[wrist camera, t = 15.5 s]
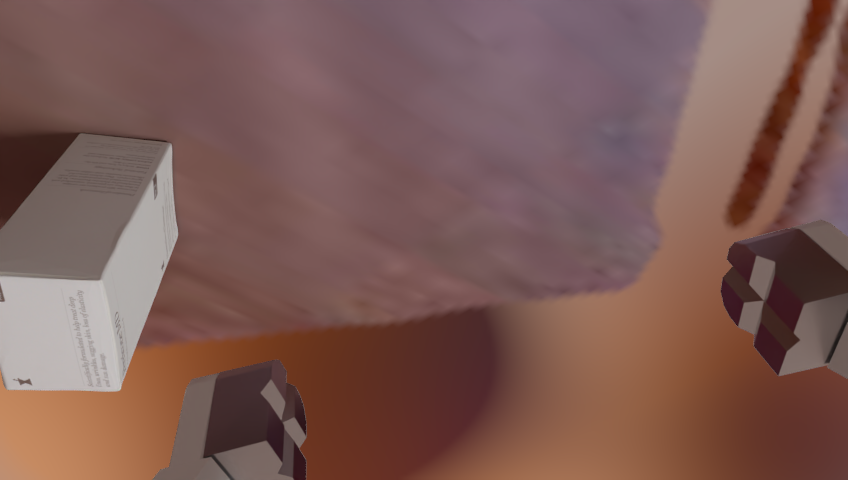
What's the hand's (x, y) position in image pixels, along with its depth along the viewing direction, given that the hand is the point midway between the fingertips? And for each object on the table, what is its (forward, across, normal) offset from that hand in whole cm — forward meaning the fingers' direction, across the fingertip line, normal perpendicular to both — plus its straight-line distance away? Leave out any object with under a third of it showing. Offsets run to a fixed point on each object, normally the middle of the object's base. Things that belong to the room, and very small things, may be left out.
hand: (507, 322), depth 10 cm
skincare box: (+29, +20, +10) cm, 37 cm away
